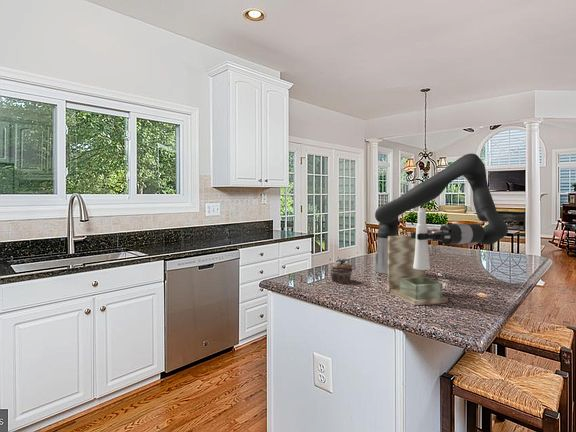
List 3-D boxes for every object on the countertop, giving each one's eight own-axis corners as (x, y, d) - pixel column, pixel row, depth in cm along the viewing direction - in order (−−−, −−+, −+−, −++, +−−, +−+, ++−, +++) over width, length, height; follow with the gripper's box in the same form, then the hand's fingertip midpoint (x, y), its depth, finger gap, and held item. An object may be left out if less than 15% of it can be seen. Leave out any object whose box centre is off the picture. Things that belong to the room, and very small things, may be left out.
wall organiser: (413, 305, 124) (414, 242, 123) (387, 291, 142) (387, 236, 140) (453, 302, 127) (454, 240, 126) (423, 289, 145) (424, 234, 144)
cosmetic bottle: (419, 266, 135) (419, 207, 134) (434, 268, 130) (434, 208, 129) (409, 268, 132) (409, 208, 131) (423, 270, 127) (423, 208, 126)
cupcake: (346, 277, 165) (346, 256, 165) (355, 282, 156) (355, 260, 155) (326, 279, 163) (326, 257, 162) (334, 284, 154) (334, 261, 153)
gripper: (443, 222, 140) (403, 224, 136) (469, 225, 126) (426, 227, 123) (443, 241, 141) (403, 243, 137) (469, 246, 127) (426, 249, 123)
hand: (414, 236), depth 130 cm, fingers closed on cosmetic bottle, 3 cm apart
